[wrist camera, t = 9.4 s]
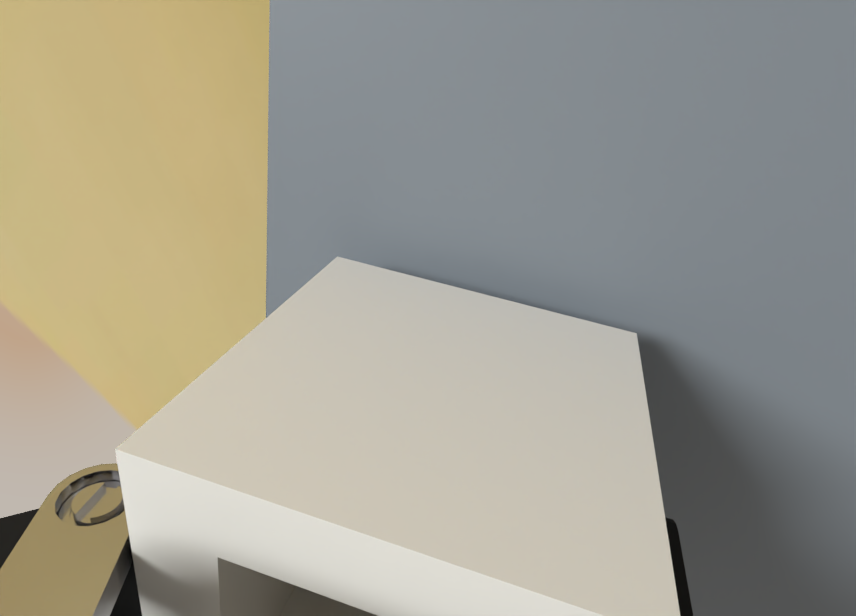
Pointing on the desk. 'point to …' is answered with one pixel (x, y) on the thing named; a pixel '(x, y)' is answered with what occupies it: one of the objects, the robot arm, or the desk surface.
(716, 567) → the post board
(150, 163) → the desk surface
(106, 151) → the desk surface
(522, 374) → the white hollow cube
